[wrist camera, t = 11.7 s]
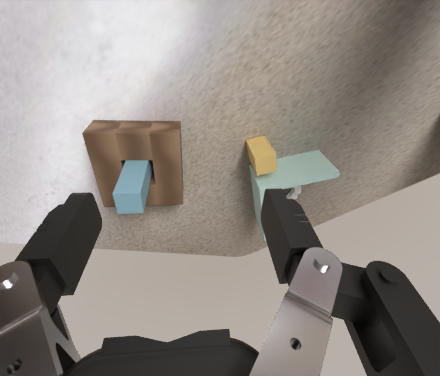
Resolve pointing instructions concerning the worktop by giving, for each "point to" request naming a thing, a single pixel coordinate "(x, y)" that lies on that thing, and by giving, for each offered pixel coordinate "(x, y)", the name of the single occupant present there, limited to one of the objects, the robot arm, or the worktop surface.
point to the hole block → (137, 156)
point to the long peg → (133, 186)
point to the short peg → (261, 155)
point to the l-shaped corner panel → (291, 177)
